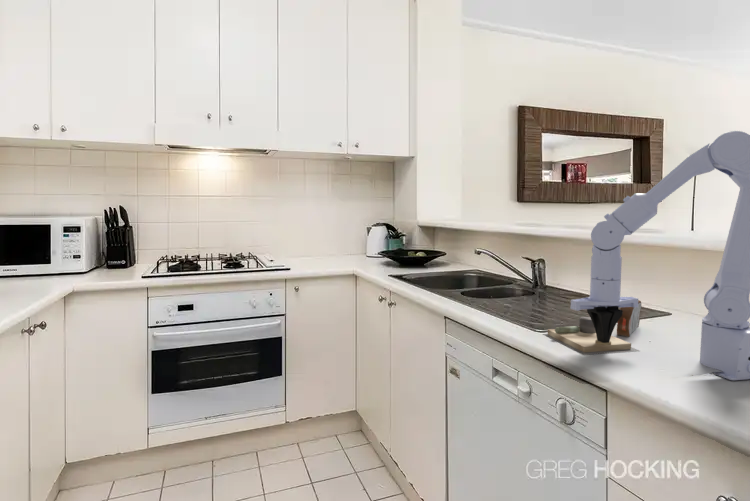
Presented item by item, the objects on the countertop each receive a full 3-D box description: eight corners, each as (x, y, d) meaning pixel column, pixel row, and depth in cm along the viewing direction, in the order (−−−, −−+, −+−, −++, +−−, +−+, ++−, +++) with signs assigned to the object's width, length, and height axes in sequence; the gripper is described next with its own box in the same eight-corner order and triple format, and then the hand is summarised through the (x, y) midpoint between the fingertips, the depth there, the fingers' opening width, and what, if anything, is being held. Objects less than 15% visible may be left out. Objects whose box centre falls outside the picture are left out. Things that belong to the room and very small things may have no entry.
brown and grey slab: (628, 327, 120) (629, 295, 119) (642, 329, 118) (643, 296, 117) (614, 340, 108) (616, 305, 107) (630, 343, 106) (631, 307, 105)
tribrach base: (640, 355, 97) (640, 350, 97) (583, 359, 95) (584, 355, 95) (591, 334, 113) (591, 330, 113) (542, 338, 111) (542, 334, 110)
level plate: (546, 334, 110) (547, 317, 110) (589, 331, 112) (590, 314, 112) (583, 352, 96) (583, 332, 96) (631, 349, 98) (631, 329, 98)
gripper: (623, 274, 103) (620, 334, 104) (563, 276, 100) (561, 338, 101) (646, 279, 96) (643, 343, 97) (583, 282, 93) (580, 348, 94)
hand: (603, 341), depth 99 cm, fingers closed, pressing on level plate
